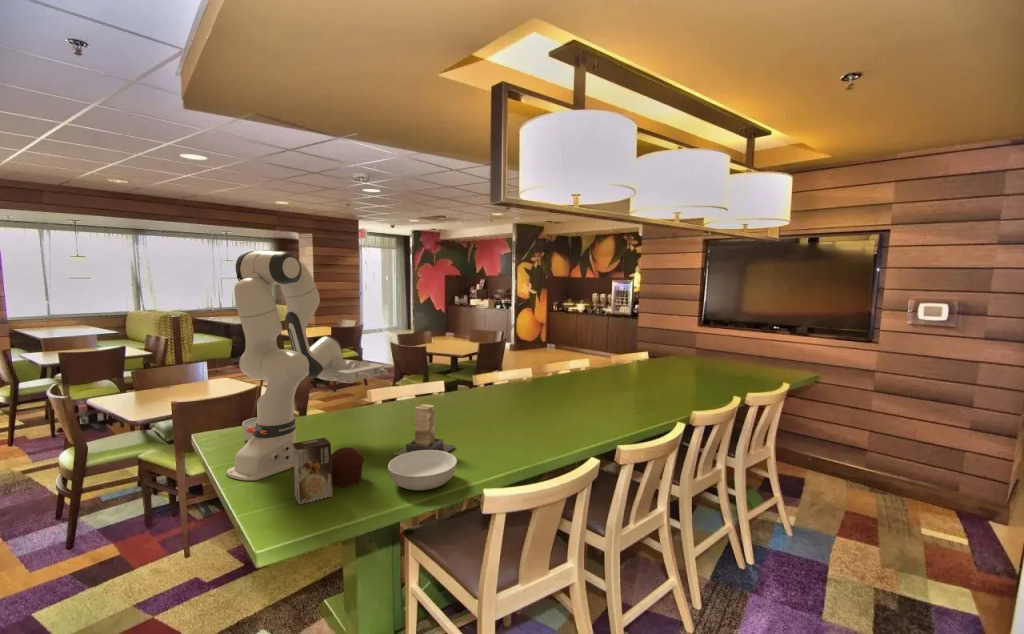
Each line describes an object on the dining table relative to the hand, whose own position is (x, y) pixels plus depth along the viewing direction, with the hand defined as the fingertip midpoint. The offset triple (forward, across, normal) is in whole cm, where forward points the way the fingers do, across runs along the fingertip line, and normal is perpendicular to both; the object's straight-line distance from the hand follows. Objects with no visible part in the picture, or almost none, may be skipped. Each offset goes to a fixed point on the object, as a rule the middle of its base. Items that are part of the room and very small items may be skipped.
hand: (378, 374), depth 172 cm
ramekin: (-47, -11, +28) cm, 56 cm away
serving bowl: (+33, -20, +28) cm, 48 cm away
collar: (+20, +2, +27) cm, 34 cm away
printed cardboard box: (+9, -40, +29) cm, 51 cm away
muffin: (+10, -28, +29) cm, 42 cm away
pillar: (+20, +2, +26) cm, 33 cm away
